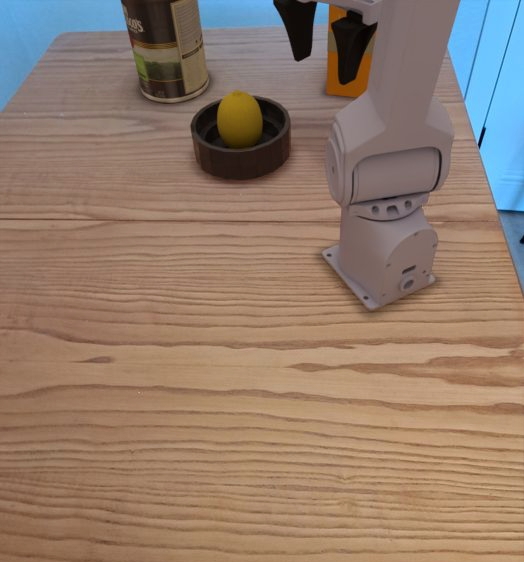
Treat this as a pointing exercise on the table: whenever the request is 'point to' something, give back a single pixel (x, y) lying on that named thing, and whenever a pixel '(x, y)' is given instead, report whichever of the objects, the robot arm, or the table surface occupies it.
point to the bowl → (244, 161)
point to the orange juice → (333, 85)
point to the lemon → (239, 120)
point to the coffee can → (167, 48)
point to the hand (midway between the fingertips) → (324, 69)
